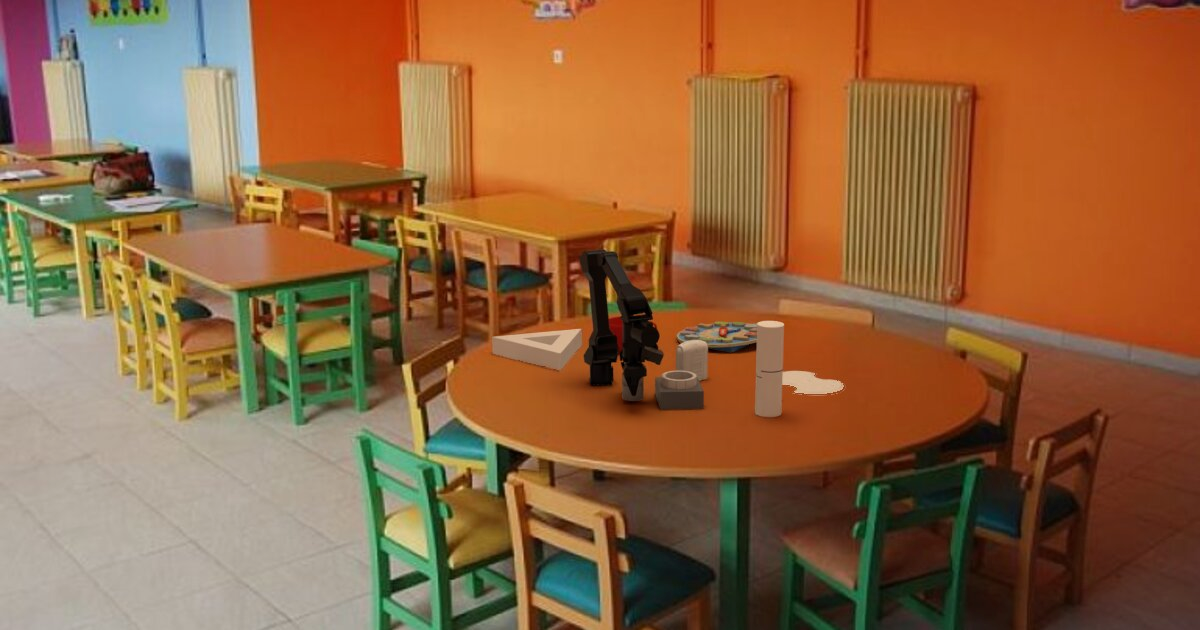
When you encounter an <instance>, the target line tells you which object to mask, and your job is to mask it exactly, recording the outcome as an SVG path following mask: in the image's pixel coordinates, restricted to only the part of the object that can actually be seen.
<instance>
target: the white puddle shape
mask: <svg viewBox="0 0 1200 630" xmlns="http://www.w3.org/2000/svg"><path fill="white" fill-rule="evenodd" d="M814 375H815V372H811V371H806V370H805V371H804V370H802V371H801V370H788V371H787V370H786V371H783V377H782V385H790V386H789V387H791V386H794V387H796V388H797V389H796V388H795V390H794V392H795V393H804V394H827V393H833V392H837V391H840V390H842V389H843V387H844V385H845V384H844V383H843V382H842V381H840V380H838V381H837V379H825V378H819V377H816V375H815V376H814ZM841 382H842V383H841ZM843 384H844V385H843ZM794 387H793V388H794ZM795 393H794V394H795Z"/></svg>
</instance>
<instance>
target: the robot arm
mask: <svg viewBox="0 0 1200 630" xmlns="http://www.w3.org/2000/svg"><path fill="white" fill-rule="evenodd" d="M579 265H580V267H581V273H582V274H583V275H584V277H585V278H586V279H587V281H588V287H589V288H588V289H589V299H590V309H591V321H592V332H591V334H590V335H589V339H588V347H587V349H586V350H585V353H584V354H583V362H584V363H585V364H586V365H588V366H589V378H588V380H589V386H612V385H613V383H614V366H613V365H612V364H613V363H617V362H618V356H619V362H620V365H621V368H622V373H623V375H624V377H625V380H626V382H627V385H628V387H629V390H630V392H631V395H632V396H636V393H637V388H638V384H639V381H640V379H641V378H642V377H644V378H645V377H647V375H648V373H647V372H648V369H647V366H646V365H645V364H644V363H645V362H646V361H647V362H650V363H653V364H655V365H657V366H660V365H661V364H662V361H663V359H664V356H665V354H664V352H663V350H661V349H659V345H658V342H659V340H660V332H659V329H658V328H657V329H656V328H655V326H654V325H653V323H654V322H653V321H652V320H654V317H653V311H652V308H651V306H650V303H649V301H648V299H647V297H646V295H645V294H644V293H643V292H642V290H641V289H640V288H638V287H636V286H634V285H633V284H632V282H631V280H630V278H629V277H628V275H627V273H626V271H625V269H624V268H623V266H622V264H621V262H620V261H619V256H618V253H617V252H616V251H613V250H611V251H607V250H606V249H603V248H602V249H601V248H600V249H591V250H584V251H583V252H582V254H580V256H579ZM606 279H608V280H609V282H610V284H611V286H612V288H613V289H614V291H615V293H616V296H617V298H616V305H617V308H618V311H619V313H620V315H621V316H619V317H620V320H623V340H622V345H623V350H622V351H620V353H618V352H619V347H618V344H617V336H616V335H614V334H613V333H612V331H611V330H610V326H609V319H610V317H609V308H608V307H609V306H608V305H609V304H608V298H607V296H608V294H607V285H606Z"/></svg>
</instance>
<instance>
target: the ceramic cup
mask: <svg viewBox="0 0 1200 630" xmlns="http://www.w3.org/2000/svg"><path fill="white" fill-rule="evenodd" d="M620 317H621V316H615V317H609V326H610V330H611V331H612V333H613V334H614V335H616V336H617V344H618V347H619V352H618V354H620V351H622V350H623V345H622V340H623V320H620ZM653 327H655V328H656V329H657V330H658V326H657V324H656V322H653Z"/></svg>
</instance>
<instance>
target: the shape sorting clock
mask: <svg viewBox="0 0 1200 630" xmlns="http://www.w3.org/2000/svg"><path fill="white" fill-rule="evenodd" d="M676 339H677V341H678V342H679V343H680V344H682V343H684V342H686V341H690V340H702V341H705V342H706V343H707V346H708V350H715V351H720V352H726V353H731V352H733V353H735V352H737V351H739V350H741V349H743V348H745V347H747V346H749V344H750V345H752V344H755V343H756V344H757V323H747V322H742V321H732V322H728V321H715V322H713V323H707V324H706V323H698V324H697V325H696V326H687V327H685V329H682V330H681V331H679V332H678V333H677V334H676ZM734 351H735V352H734Z"/></svg>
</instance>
